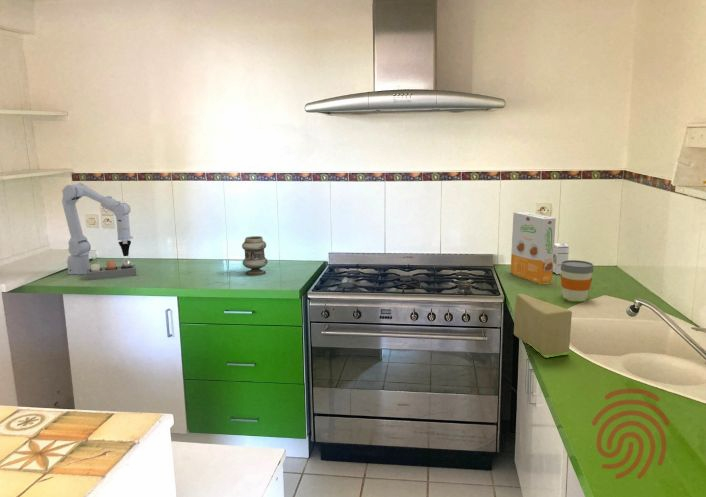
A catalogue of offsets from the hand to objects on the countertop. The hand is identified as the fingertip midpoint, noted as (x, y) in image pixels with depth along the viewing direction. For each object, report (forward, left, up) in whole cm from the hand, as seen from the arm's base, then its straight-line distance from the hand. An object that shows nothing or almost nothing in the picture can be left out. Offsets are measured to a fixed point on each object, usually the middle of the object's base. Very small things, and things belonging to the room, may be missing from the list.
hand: (125, 255), depth 282 cm
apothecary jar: (+63, +6, -10) cm, 64 cm away
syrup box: (+211, +14, -10) cm, 211 cm away
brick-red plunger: (-6, -3, -6) cm, 9 cm away
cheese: (+178, -84, -10) cm, 197 cm away
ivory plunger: (-12, -7, -7) cm, 16 cm away
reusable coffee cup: (+206, -29, -10) cm, 208 cm away
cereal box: (+195, +4, -10) cm, 195 cm away
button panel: (-6, -3, -9) cm, 12 cm away
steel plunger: (0, 0, -6) cm, 6 cm away
